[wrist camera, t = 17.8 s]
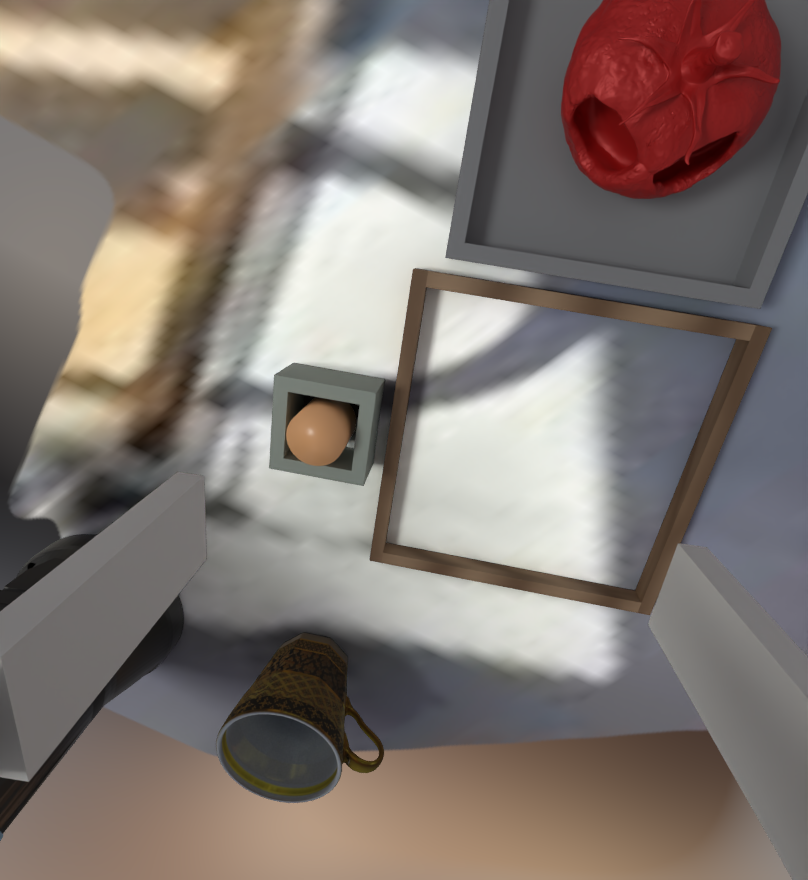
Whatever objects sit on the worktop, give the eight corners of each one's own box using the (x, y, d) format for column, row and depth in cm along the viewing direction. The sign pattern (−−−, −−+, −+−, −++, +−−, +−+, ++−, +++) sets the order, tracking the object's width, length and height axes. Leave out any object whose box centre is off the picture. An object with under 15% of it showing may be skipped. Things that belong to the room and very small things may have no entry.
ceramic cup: (261, 686, 49) (214, 788, 39) (266, 607, 45) (216, 699, 36) (388, 713, 48) (370, 823, 39) (404, 636, 44) (389, 736, 35)
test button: (302, 439, 37) (284, 460, 33) (306, 389, 36) (288, 405, 32) (353, 449, 37) (341, 470, 33) (359, 399, 35) (347, 416, 32)
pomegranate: (593, -21, 26) (658, -168, 17) (770, 36, 26) (925, -83, 17) (523, 177, 30) (549, 138, 21) (680, 228, 29) (771, 210, 21)
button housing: (287, 447, 39) (269, 468, 35) (293, 362, 36) (274, 374, 33) (372, 463, 39) (363, 486, 35) (384, 379, 36) (376, 393, 32)
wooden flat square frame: (372, 550, 41) (369, 560, 40) (415, 268, 33) (413, 268, 32) (643, 602, 40) (649, 615, 39) (758, 324, 32) (772, 327, 31)
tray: (446, 257, 33) (445, 257, 30) (512, -122, 26) (518, -169, 23) (733, 304, 32) (760, 309, 29) (882, -77, 25) (935, -119, 22)
